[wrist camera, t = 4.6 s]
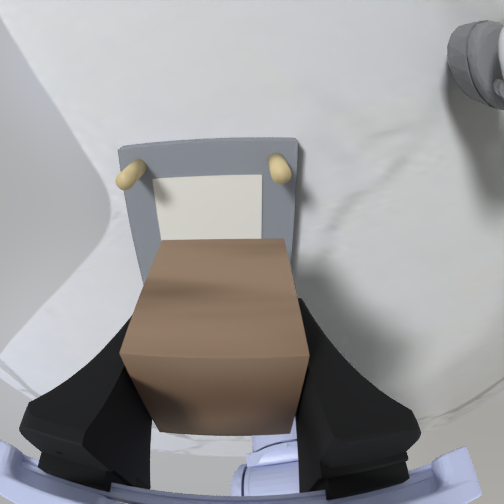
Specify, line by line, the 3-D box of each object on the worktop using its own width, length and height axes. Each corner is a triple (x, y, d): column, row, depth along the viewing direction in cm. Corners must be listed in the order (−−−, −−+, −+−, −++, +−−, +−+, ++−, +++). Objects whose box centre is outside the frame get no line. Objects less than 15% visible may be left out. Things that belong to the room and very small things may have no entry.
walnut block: (277, 325, 15) (290, 433, 10) (178, 325, 15) (159, 431, 10) (284, 238, 13) (309, 355, 8) (162, 240, 12) (119, 353, 7)
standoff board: (286, 281, 23) (293, 313, 20) (148, 282, 22) (136, 314, 20) (295, 138, 17) (306, 151, 14) (123, 145, 17) (100, 161, 14)
